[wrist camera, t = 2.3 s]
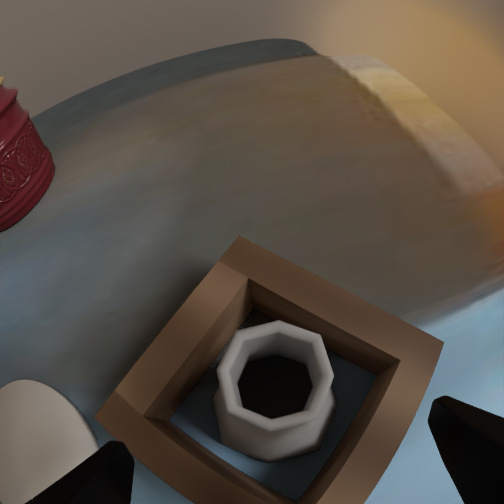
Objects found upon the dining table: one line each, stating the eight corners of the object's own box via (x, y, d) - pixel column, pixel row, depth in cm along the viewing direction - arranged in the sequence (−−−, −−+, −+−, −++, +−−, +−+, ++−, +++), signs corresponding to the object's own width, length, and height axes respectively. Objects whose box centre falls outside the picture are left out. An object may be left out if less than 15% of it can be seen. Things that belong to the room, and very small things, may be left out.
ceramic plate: (62, 566, 8) (56, 568, 7) (-28, 445, 13) (-34, 444, 12) (145, 475, 14) (139, 476, 13) (32, 349, 18) (26, 346, 18)
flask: (205, 455, 14) (130, 475, 6) (220, 342, 18) (172, 254, 10) (332, 463, 14) (398, 494, 5) (337, 348, 18) (391, 263, 9)
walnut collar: (306, 539, 11) (313, 564, 8) (127, 422, 16) (93, 416, 12) (415, 361, 16) (444, 342, 13) (245, 270, 21) (239, 235, 18)
